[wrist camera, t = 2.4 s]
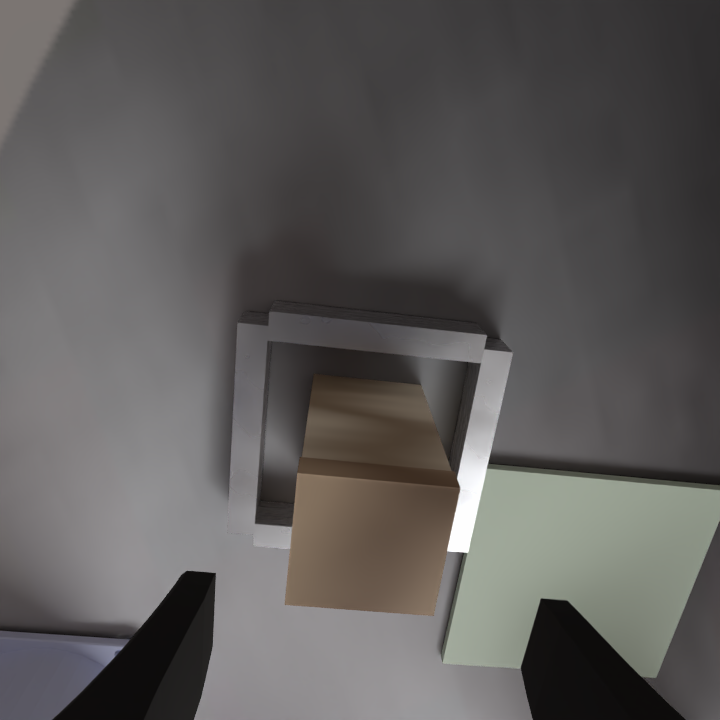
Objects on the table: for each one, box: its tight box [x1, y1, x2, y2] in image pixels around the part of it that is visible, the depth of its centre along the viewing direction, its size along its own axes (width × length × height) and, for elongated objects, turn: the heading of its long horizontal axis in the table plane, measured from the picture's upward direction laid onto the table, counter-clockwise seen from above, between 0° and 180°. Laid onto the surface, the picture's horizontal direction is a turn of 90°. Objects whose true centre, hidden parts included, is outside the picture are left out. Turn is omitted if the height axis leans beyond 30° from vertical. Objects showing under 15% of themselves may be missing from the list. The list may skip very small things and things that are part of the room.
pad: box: [441, 464, 720, 678], centre depth 23 cm, size 10×10×1 cm
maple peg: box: [285, 374, 461, 616], centre depth 18 cm, size 4×4×7 cm
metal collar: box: [227, 301, 513, 553], centre depth 20 cm, size 9×9×2 cm
